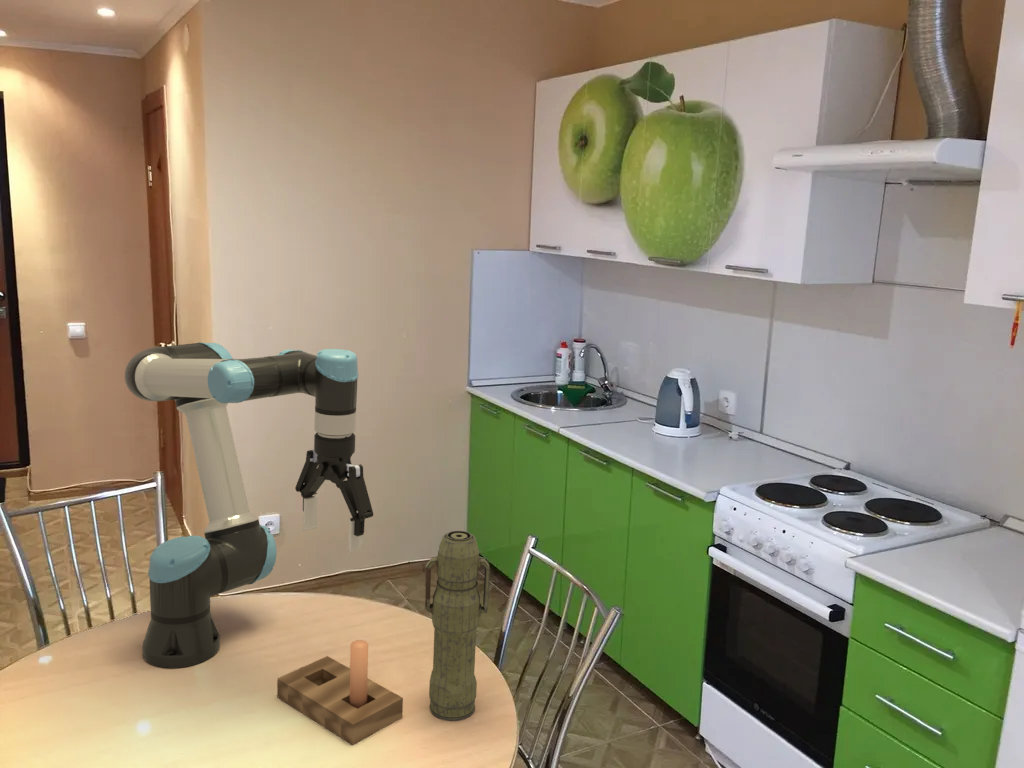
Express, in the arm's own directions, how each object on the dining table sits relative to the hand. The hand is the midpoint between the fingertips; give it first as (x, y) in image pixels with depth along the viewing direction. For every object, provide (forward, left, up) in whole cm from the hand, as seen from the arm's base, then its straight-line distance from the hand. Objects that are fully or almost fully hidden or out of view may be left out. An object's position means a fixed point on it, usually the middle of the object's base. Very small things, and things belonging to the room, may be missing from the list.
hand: (332, 539), depth 168 cm
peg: (+13, -4, -30) cm, 33 cm away
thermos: (+23, +11, -31) cm, 40 cm away
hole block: (+7, -4, -30) cm, 32 cm away
